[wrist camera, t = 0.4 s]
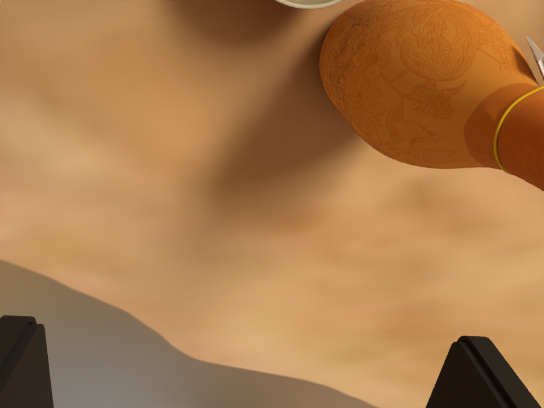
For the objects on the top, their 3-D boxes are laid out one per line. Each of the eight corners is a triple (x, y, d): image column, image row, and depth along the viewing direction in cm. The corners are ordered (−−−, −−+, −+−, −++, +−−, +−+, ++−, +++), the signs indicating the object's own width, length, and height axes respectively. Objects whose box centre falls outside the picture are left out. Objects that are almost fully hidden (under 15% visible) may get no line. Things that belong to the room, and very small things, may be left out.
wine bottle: (417, 116, 39) (821, 391, 12) (310, 116, 38) (497, 411, 12) (439, -4, 35) (1129, 23, 8) (318, -8, 34) (649, 9, 7)
